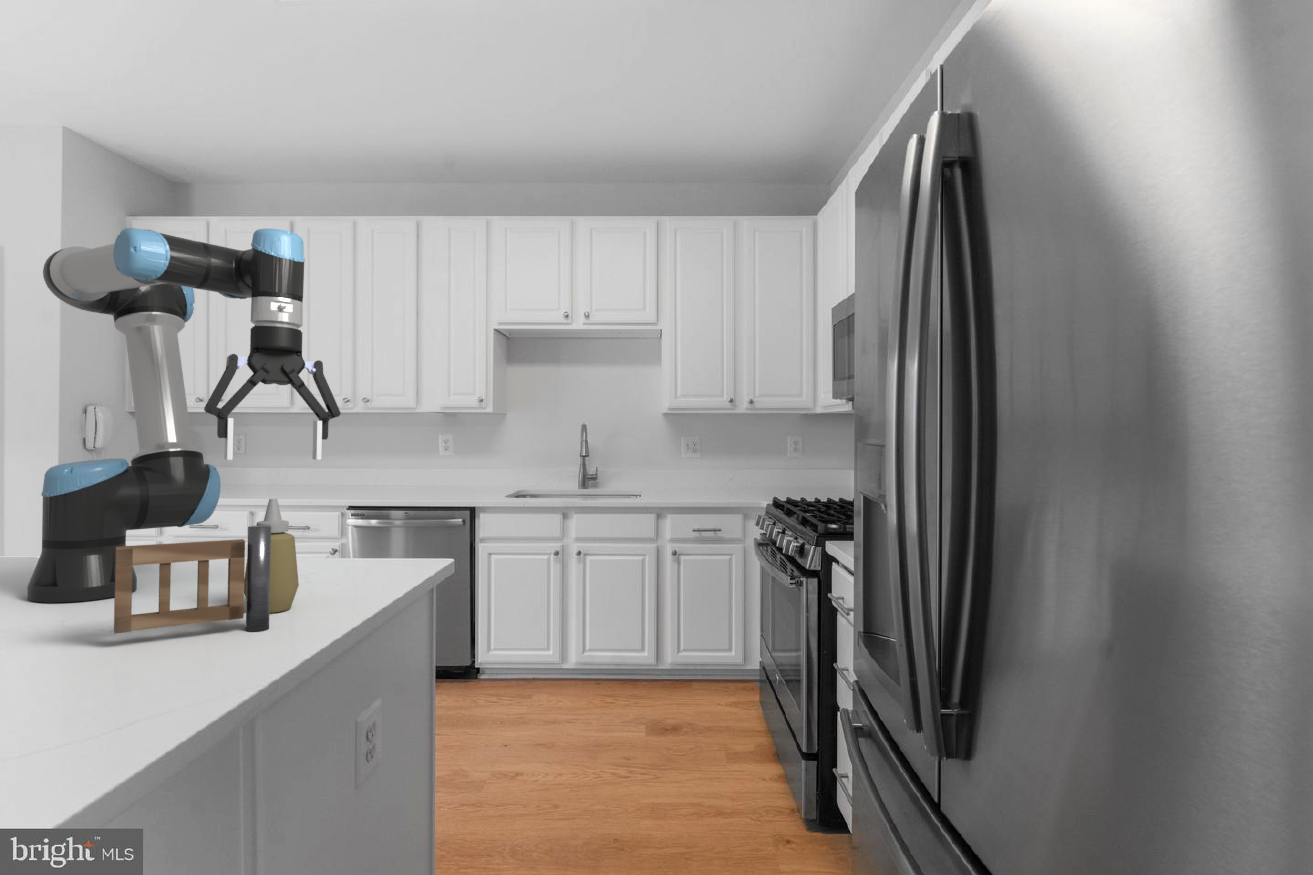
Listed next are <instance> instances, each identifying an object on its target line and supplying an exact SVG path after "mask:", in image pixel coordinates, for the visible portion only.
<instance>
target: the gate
mask: <svg viewBox="0 0 1313 875" xmlns="http://www.w3.org/2000/svg"><path fill="white" fill-rule="evenodd" d="M245 558H246V540H245V539H243V538H241V539H239V538H238V539H224V540H223V539H221V540H206V541H205V540H204V541H193V542H192V541H189V542H175V543H174V542H173V543H172V542H171V543H158V544H157V543H156V544H155V543H154V544H153V543H152V544H142V545H141V544H139V545H126V546H120V547H116V554H115V597H114V602H113V603H114V611H113V612H114V613H113V614H114V615H113V617H114V618H113V633H114V634H116V635H117V634H124V633H131V632H133V631H142V630H151V629H152V630H153V629H159V628H168V627H169V628H170V627H176V626H185V625H194V624H195V625H196V624H203V623H204V624H205V623H212V622H219V621H233V620H243V619H244V618H245V617H244V615H245V614H244V612H245V609H244V608H245V606H244V605H245V594H244V579H245V570H246V566H245V564H246V563H245V560H246V559H245ZM226 559H227V560H228V562H227V566H228V567H227V602H226V603H227V604H220V605H209V581H210V580H209V576H210V575H209V574H210V561H212V560H226ZM185 562H197V582H196V583H197V588H196V589H197V590H196V592H197V595H196V607H193V608H192V607H191V608H183V609H182V608H181V609H174V610H173V609H171V574H172V573H171V570H172V569H171V568H172V563H185ZM155 564H156V565H157V564H158V565H159V567H158V568H159V573H158V574H159V575H158V576H159V577H158V578H159V579H158V611H154V612H145V613H136V614H135V613H134V614H132V607H133V606H132V604H133V601H132V600H133V592H132V567H133V568H134V566H143V565H146V566H147V565H155Z"/></svg>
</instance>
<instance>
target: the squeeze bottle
mask: <svg viewBox="0 0 1313 875" xmlns="http://www.w3.org/2000/svg"><path fill="white" fill-rule="evenodd" d="M281 515H282V514H281V511H280V506H279V501H278V498H269V499H268V502H267V506H266V511H265V514H264V517H263V520H260V521H257V522H256V526H261V525H265V526H271V561H270V610H269V614H274V613H275V614H276V613H280V612H285V611H287V610H290V609H291V608H292V605H293V603H294V600H295V597H296V594H297V592H298V588H299V586H300V584H299V573H298V572H299V571H298V563H297V560H298V559H297V553H296V552H297V551H296V539H295V536H294V535H293V534H291V533H288V532H289V521H288V520H284V519H282V516H281ZM245 564H246V566H245V570H244V598H245V600H247V563H245Z"/></svg>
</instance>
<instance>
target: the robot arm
mask: <svg viewBox="0 0 1313 875" xmlns="http://www.w3.org/2000/svg"><path fill="white" fill-rule="evenodd" d="M303 240H304V239H303V238H302V237H301V236H300V235H298V234H297V233H295V232H292V231H287V230H284V229H278V228H260V229H256V230H255V231H254V232H253V234H252V240H251V241H252V242H251V243H250V246H251V248H249V249H246V250H242V249H241V250H240V249H235V248H232V247H231V248H230V247H227V246H221V245H217V244H213V243H207V242H203V241H197V240H192V239H188V238H183V237H179V236H175V235H169V234H166V233H161V232H158V231H156V230H153V229H142V228H136V227H125V228H123V229H122V230H121V231H120V232H119V234H118V235H117V236H116V238H115V242H114V243H112V244H110V243H109V244H106V245H102V246H97V247H93V248H89V247H85V246H69V247H65V248H62V249H59V250H57V251H55V252H53V253H52V254H51V255H49V257H48V258H47V259H46V260H45V263H44V264H43V268H42V276H43V280H44V282H45V283H44V284H45V285H46V286H47V288H48V289H49V291H50V292H51V293H52V294H53V295H54V296H55V297H56V298H57V299H59V300H60V301H62V302H63V303H65V304H67V305H69V306H71V307H73V308H76V309H78V310H82V311H86V312H91V313H97V314H103V315H110V316H112V317H113V321H114V322H113V323H114V328H115V329H116V330H117V331H119V332H120V333H121V334H123V335H125V342H126V343H125V344H126V351H127V352H126V353H127V359H128V360H127V362H128V367H129V368H128V369H129V375H130V376H129V377H130V382H131V383H130V384H131V392H132V400H133V408H134V410H133V411H134V417H135V424H136V433H137V440H138V450H139V451H138V452H137V453H136V454H135V455H134V456H133V457H132V458H131V460H130V464H129V463H128V460H127V459H126V458H121V457H120V458H104V459H90V460H82V461H81V460H80V461H74V462H68V463H67V462H65V463H60V464H57V465H53V466H51V467H49V468H48V469H47V470H46V471H45V473H44V478H43V485H42V491H41V493H40V495H41V497H42V520H41V521H42V523H41V524H42V526H41V528H42V529H41V533H42V534H41V553H40V555H39V558H38V561H37V563H36V565H35V568H34V570H33V572H32V574H31V577H30V579H29V582H28V585H27V589H26V590H27V593H26V594H27V595H26V596H27V600H28V601H31V602H34V603H35V602H36V603H74V602H76V603H77V602H87V601H95V600H103V599H110V598H115V554H116V547H120V546H127V545H126V544H127V543H126V542H127V540H126V539H127V531H130V530H131V531H133V530H135V531H136V530H146V529H159V528H160V529H161V528H171V527H172V528H173V527H178V528H182V527H185V526H193V525H200V524H202V523H204V522H207V520H209V519H210V518H211V517H212V515H213V514H214V513H215V511H216V508H217V506H218V503H219V500H220V495H221V487H222V486H221V476H220V474H219V473H220V472H219V471H218V470H217V468H216V467H215V466H214V465H212V464H210V463H205V460H204V453H203V451H201V450H200V449H198V448H196V447H195V446H194V445H193V441H192V439H193V438H192V431H191V426H190V417H189V410H188V404H187V403H188V402H187V397H186V396H187V395H186V387H185V381H184V379H185V378H184V373H183V367H182V366H183V365H182V359H181V352H180V343H179V337H178V334H179V333H180V332H181V331H182V330H184V328H185V326H186V323H187V322H189V321H190V320H191V318H192V316H193V313H194V310H195V307H194V304H195V299H196V298H195V292H194V289H197V290H203V291H210V292H215V293H218V294H219V295H222V297H225V298H227V299H240V300H244V299H248V298H249V299H250V298H251V304H250V305H251V306H250V323H252V324H253V325H254V326H252V327H251V328H250V335H249V336H250V338H249V340H250V341H249V342H250V344H249V348H250V349H249V354H248V356H242V355H238V354H236V353H232V354H229V355H228V356H227V357H226V366H225V369H224V371H223V373H222V375H221V377H220V378H219V381H218V383H217V384H216V386H215V388H214V390H213V391H212V393H211V394H210V397H209V399H208V400H207V402H206V404H205V406H204V408H203V411H204V412H205V413H206V414H207V413H208V414H210V415H212V416H215V417H216V419H217V430H216V435H217V437H218V439H224V460H226V461H233V458H234V457H233V456H234V418H233V417H229V415H230V414H231V413H232V412H233V411H234V410H235V409H236V408H237V406H238V405H239V404H240V403H241V402H242V401H243V400H244V399H245V398H246V397H247V396H248V395H249V394H250V392H251V391H253V389H254V388H255V387H256V386H257V385H258V384H260V383H262V384H263V385H273V384H275V385H277V386H287V385H291V387H292V388H293V389H295V391H296V392H297V393H298V394H299V396H300V397H301V399H302V400H303V401H304V402H305V404H306V405H307V406H308V407H309V408H310V410H311V411H312V412H313V414H314V415H315V416H316V417H317V420H313V421H312V422H313V424H312V430H313V431H312V460H315V461H316V460H317V461H319V460H322V451H323V450H322V448H323V447H322V445H323V443H322V442H323V441H322V440H328V438H329V422H330V420H331V419H335V418H338V417H341V413H342V412H341V410H340V408H339V406H338V404H337V400H336V399H335V396H334V395H333V393H332V390H331V387H330V385H329V383H328V381H327V378H326V377H325V374H324V363H323V361H322V360H318V359H317V360H314V361H313V360H312V361H310V360H309V361H306V360H304V358H303V332H302V330H301V329H299V328H301V327H303V325H304V324H303V318H304V317H303V312H304V310H303V304H304V303H303V301H304V283H305V282H304V280H305V279H304V278H305V277H304V276H305V262H306V258H305V254H304V241H303ZM243 365H246V366H247V367H248V369H249V370H250V371H251V372H252V373H253V374H251V375H250V376H249V378H248V379H247V380H246V381H245V382H244V384H242V386H240V388H238V390H237V391H236V392H235V393H234V394H233V395H232V396H231V397H230V398H229V399H228V401H226V403H224V405H223V406H221V408H220V407H218V406H219V403H220V402H221V400H222V398H223V396H224V395H225V393H226V392H227V389H228V387H229V385H230V383H231V382H232V380H233V379H234V376H235V375H236V372H237V370H240V369H242V367H243ZM305 369H306V370H307V372H308V374H310V375H312V379H313V381H314V383H315V386H316V387H317V388H316V389H317V390H318V392H319V394H320V396H321V399H322V401H323V404H324V405H325V407H326V409H325V408H324V406H323V405H322V404H321V403H320V402H319V401H318V399H317V398H316V397H315V396H314V394H313V393H312V392H311V390H310V389H309V388H308V387H307V385H306V384H305V381H303V380H304V379H302V377H300V376H299V375H300V374H301V373H302V371H303V370H305ZM326 410H327V411H326ZM137 586H138V578H137V574H136V571H135V569H134V566H133V567H132V593H133V592H136V590H137V588H138V587H137Z"/></svg>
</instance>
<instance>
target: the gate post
mask: <svg viewBox="0 0 1313 875" xmlns="http://www.w3.org/2000/svg"><path fill="white" fill-rule="evenodd" d="M246 557H247V558H246V564H247V600H246V599H245V600H246V601H245V602H246V603H245V604H246V605H245V606H246V607H245V608H246V611H245V614H246V615H245V631H246V632H249V633H256V632H264V631H268V630H269V629H270V613H269V610H270V561H271V526H265V525H261V526H257V525H250V526H248V527H247V556H246Z"/></svg>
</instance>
